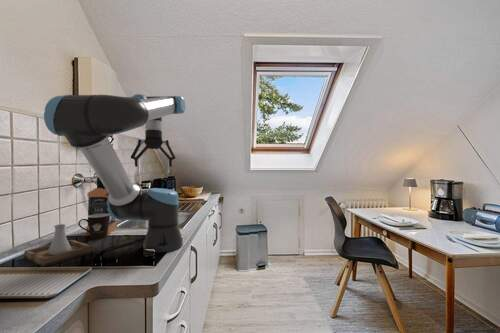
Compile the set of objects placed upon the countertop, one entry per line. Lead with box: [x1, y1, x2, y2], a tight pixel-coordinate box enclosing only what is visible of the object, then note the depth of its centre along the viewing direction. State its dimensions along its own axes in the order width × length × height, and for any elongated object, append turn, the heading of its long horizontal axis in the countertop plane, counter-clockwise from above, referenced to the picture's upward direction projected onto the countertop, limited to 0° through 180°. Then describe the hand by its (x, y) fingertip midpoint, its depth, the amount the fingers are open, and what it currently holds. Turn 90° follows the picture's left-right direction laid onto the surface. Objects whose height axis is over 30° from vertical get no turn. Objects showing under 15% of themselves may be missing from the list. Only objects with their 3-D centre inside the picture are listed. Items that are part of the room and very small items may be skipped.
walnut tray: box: [23, 239, 93, 268], centre depth 91 cm, size 15×15×2 cm
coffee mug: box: [77, 213, 110, 240], centre depth 112 cm, size 12×9×10 cm
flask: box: [47, 223, 72, 255], centre depth 91 cm, size 7×7×10 cm
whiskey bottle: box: [85, 176, 117, 236], centre depth 121 cm, size 10×10×32 cm
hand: (153, 173), depth 120 cm, fingers open, 13 cm apart
